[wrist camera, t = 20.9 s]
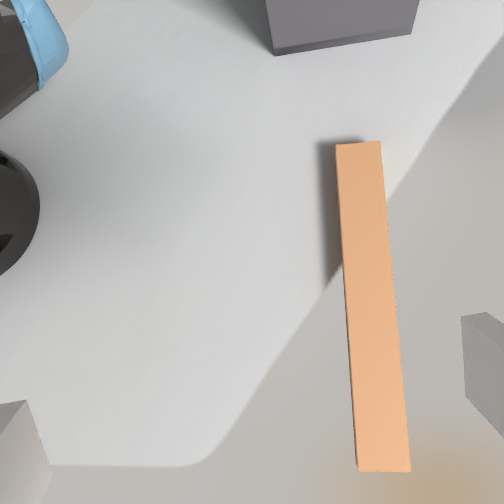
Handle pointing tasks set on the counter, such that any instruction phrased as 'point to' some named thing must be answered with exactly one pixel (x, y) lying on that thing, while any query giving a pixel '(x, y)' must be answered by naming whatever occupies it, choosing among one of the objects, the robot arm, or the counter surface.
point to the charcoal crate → (336, 22)
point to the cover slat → (370, 311)
